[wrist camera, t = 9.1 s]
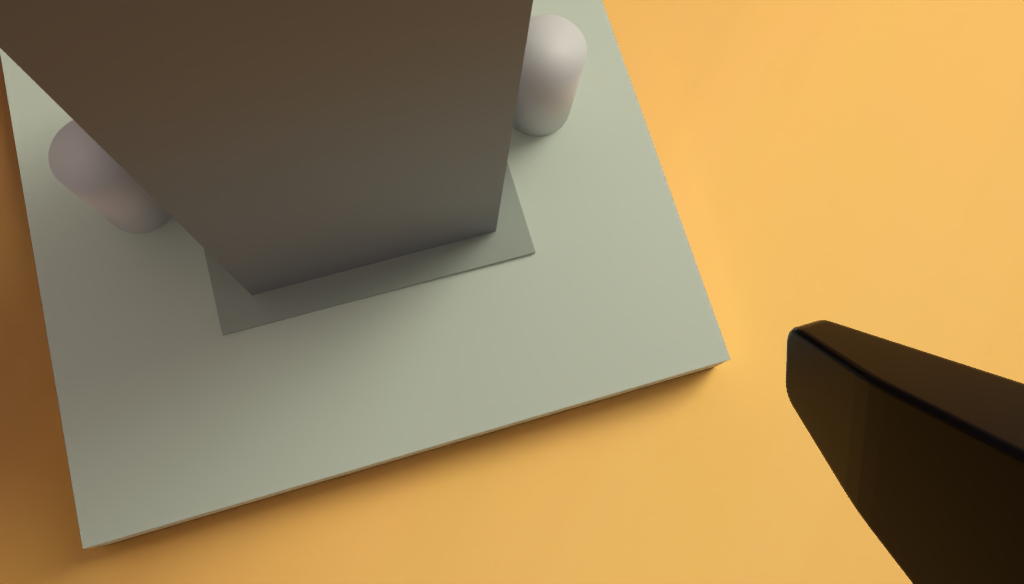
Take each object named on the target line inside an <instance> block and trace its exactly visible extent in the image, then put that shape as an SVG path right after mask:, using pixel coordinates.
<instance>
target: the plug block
mask: <svg viewBox="0 0 1024 584" xmlns="http://www.w3.org/2000/svg"><path fill="white" fill-rule="evenodd" d="M532 4H533V0H0V48H1V49H2V50H3V51H4V52H5V53H6V54H7V55H8V56H9V57H10V58H11V59H12V60H13V61H14V62H15V63H16V64H17V65H18V66H19V67H20V68H21V69H22V70H23V71H24V72H25V73H26V74H27V75H28V76H29V77H30V78H31V79H32V80H33V81H34V82H35V83H36V84H37V85H38V86H39V87H40V88H41V89H43V90H44V91H45V92H46V93H47V94H48V95H49V96H50V97H51V98H52V99H53V100H54V101H55V102H56V103H57V104H58V105H59V106H60V107H61V108H62V109H63V110H64V111H65V112H66V113H67V114H68V115H69V116H70V117H71V118H72V119H73V120H74V121H75V122H76V123H77V124H78V125H79V126H80V127H81V128H82V129H83V130H84V131H85V132H86V133H87V134H88V135H89V136H90V137H91V138H92V139H93V140H94V141H95V142H96V143H97V144H98V145H100V146H101V147H102V148H103V149H104V150H105V151H106V152H107V153H108V154H109V155H110V156H111V157H112V158H113V159H114V160H115V161H116V162H117V163H118V164H119V165H120V166H121V167H122V168H123V169H124V170H125V171H126V172H127V173H128V174H129V175H130V176H131V177H132V178H133V179H134V180H135V181H136V182H137V183H138V184H139V185H140V186H141V187H142V188H143V189H144V190H145V191H146V192H147V193H148V194H149V195H150V196H151V197H152V198H153V199H154V200H155V201H157V202H158V203H159V204H160V205H161V206H162V207H163V208H164V209H165V210H166V211H167V212H168V213H169V214H170V215H171V216H172V217H173V218H174V219H175V220H176V221H177V222H178V223H179V224H180V225H181V226H182V227H183V228H184V229H185V230H186V231H187V232H188V233H189V234H190V235H191V236H192V237H193V238H194V239H195V240H196V241H197V242H198V243H199V244H200V245H201V246H202V247H203V248H204V249H205V250H206V251H207V252H208V253H209V254H210V255H211V256H212V257H214V258H215V259H216V260H217V261H218V262H219V263H220V264H221V265H222V266H223V267H224V268H225V269H226V270H227V271H228V272H229V273H230V274H231V275H232V276H233V277H234V278H235V279H236V280H237V281H238V282H239V283H240V284H241V285H242V286H243V287H244V288H245V289H246V290H247V291H248V292H249V293H250V294H251V295H255V294H259V293H262V292H266V291H270V290H274V289H278V288H282V287H285V286H289V285H293V284H297V283H301V282H304V281H308V280H312V279H316V278H320V277H324V276H327V275H331V274H335V273H339V272H343V271H347V270H350V269H354V268H358V267H362V266H366V265H369V264H373V263H377V262H381V261H385V260H389V259H392V258H396V257H400V256H404V255H408V254H412V253H415V252H419V251H423V250H427V249H431V248H435V247H438V246H442V245H446V244H450V243H454V242H457V241H461V240H465V239H469V238H473V237H477V236H480V235H484V234H488V233H492V232H496V228H497V222H498V215H499V209H500V203H501V197H502V191H503V184H504V178H505V172H506V166H507V159H508V153H509V147H510V141H511V135H512V128H513V122H514V116H515V110H516V104H517V97H518V91H519V85H520V79H521V73H522V66H523V60H524V54H525V48H526V42H527V35H528V29H529V23H530V17H531V11H532Z"/></svg>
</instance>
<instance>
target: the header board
mask: <svg viewBox="0 0 1024 584" xmlns="http://www.w3.org/2000/svg"><path fill="white" fill-rule="evenodd" d="M0 55H1V61H2V67H3V73H4V79H5V85H6V91H7V97H8V103H9V109H10V115H11V121H12V127H13V133H14V139H15V145H16V151H17V157H18V163H19V169H20V175H21V181H22V187H23V193H24V199H25V205H26V211H27V217H28V223H29V229H30V235H31V241H32V247H33V253H34V259H35V265H36V271H37V277H38V283H39V289H40V295H41V301H42V307H43V313H44V319H45V325H46V331H47V337H48V343H49V349H50V355H51V361H52V367H53V373H54V379H55V385H56V391H57V397H58V403H59V409H60V415H61V421H62V427H63V433H64V439H65V445H66V451H67V457H68V463H69V469H70V475H71V481H72V487H73V493H74V499H75V505H76V511H77V517H78V523H79V529H80V535H81V541H82V547H83V549H85V548H92V547H99V546H105V545H108V544H112V543H115V542H118V541H122V540H125V539H129V538H132V537H135V536H139V535H142V534H146V533H149V532H152V531H156V530H159V529H163V528H166V527H169V526H173V525H176V524H180V523H183V522H187V521H190V520H193V519H197V518H200V517H204V516H207V515H210V514H214V513H217V512H221V511H224V510H227V509H231V508H234V507H238V506H241V505H244V504H248V503H251V502H255V501H258V500H261V499H265V498H268V497H272V496H275V495H279V494H282V493H285V492H289V491H292V490H296V489H299V488H302V487H306V486H309V485H313V484H316V483H319V482H323V481H326V480H330V479H333V478H336V477H340V476H343V475H347V474H350V473H354V472H357V471H360V470H364V469H367V468H371V467H374V466H377V465H381V464H384V463H388V462H391V461H394V460H398V459H401V458H405V457H408V456H411V455H415V454H418V453H422V452H425V451H429V450H432V449H435V448H439V447H442V446H446V445H449V444H452V443H456V442H459V441H463V440H466V439H469V438H473V437H476V436H480V435H483V434H486V433H490V432H493V431H497V430H500V429H504V428H507V427H510V426H514V425H517V424H521V423H524V422H527V421H531V420H534V419H538V418H541V417H544V416H548V415H551V414H555V413H558V412H561V411H565V410H568V409H572V408H575V407H578V406H582V405H585V404H589V403H592V402H596V401H599V400H602V399H606V398H609V397H613V396H616V395H619V394H623V393H626V392H630V391H633V390H636V389H640V388H643V387H647V386H650V385H653V384H657V383H660V382H664V381H667V380H671V379H674V378H677V377H681V376H684V375H688V374H691V373H694V372H698V371H701V370H705V369H708V368H711V367H715V366H717V365H719V364H722V363H724V362H726V361H728V360H730V357H729V354H728V351H727V348H726V346H725V343H724V340H723V337H722V334H721V332H720V329H719V326H718V323H717V320H716V318H715V315H714V312H713V309H712V306H711V304H710V301H709V298H708V295H707V292H706V290H705V287H704V284H703V281H702V279H701V276H700V273H699V270H698V267H697V265H696V262H695V259H694V256H693V253H692V251H691V248H690V245H689V242H688V239H687V237H686V234H685V231H684V228H683V225H682V223H681V220H680V217H679V214H678V211H677V209H676V206H675V203H674V200H673V198H672V195H671V192H670V189H669V186H668V184H667V181H666V178H665V175H664V172H663V170H662V167H661V164H660V161H659V158H658V156H657V153H656V150H655V147H654V144H653V142H652V139H651V136H650V133H649V130H648V128H647V125H646V122H645V119H644V117H643V114H642V111H641V108H640V105H639V103H638V100H637V97H636V94H635V91H634V89H633V86H632V83H631V80H630V77H629V75H628V72H627V69H626V66H625V63H624V61H623V58H622V55H621V52H620V49H619V47H618V44H617V41H616V38H615V36H614V33H613V30H612V27H611V24H610V22H609V19H608V16H607V13H606V10H605V8H604V5H603V2H602V0H533V4H532V11H531V17H530V23H529V29H528V35H527V42H526V48H525V54H524V60H523V66H522V73H521V79H520V85H519V91H518V97H517V104H516V110H515V116H514V122H513V128H512V135H511V141H510V147H509V153H508V159H507V166H506V172H505V178H504V184H503V191H502V197H501V203H500V209H499V215H498V222H497V228H496V232H492V233H488V234H484V235H480V236H477V237H473V238H469V239H465V240H461V241H457V242H454V243H450V244H446V245H442V246H438V247H435V248H431V249H427V250H423V251H419V252H415V253H412V254H408V255H404V256H400V257H396V258H392V259H389V260H385V261H381V262H377V263H373V264H369V265H366V266H362V267H358V268H354V269H350V270H347V271H343V272H339V273H335V274H331V275H327V276H324V277H320V278H316V279H312V280H308V281H304V282H301V283H297V284H293V285H289V286H285V287H282V288H278V289H274V290H270V291H266V292H262V293H259V294H255V295H251V294H250V293H249V292H248V291H247V290H246V289H245V288H244V287H243V286H242V285H241V284H240V283H239V282H238V281H237V280H236V279H235V278H234V277H233V276H232V275H231V274H230V273H229V272H228V271H227V270H226V269H225V268H224V267H223V266H222V265H221V264H220V263H219V262H218V261H217V260H216V259H215V258H214V257H212V256H211V255H210V254H209V253H208V252H207V251H206V250H205V249H204V248H203V247H202V246H201V245H200V244H199V243H198V242H197V241H196V240H195V239H194V238H193V237H192V236H191V235H190V234H189V233H188V232H187V231H186V230H185V229H184V228H183V227H182V226H181V225H180V224H179V223H178V222H177V221H176V220H175V219H174V218H173V217H172V216H171V215H170V214H169V213H168V212H167V211H166V210H165V209H164V208H163V207H162V206H161V205H160V204H159V203H158V202H157V201H155V200H154V199H153V198H152V197H151V196H150V195H149V194H148V193H147V192H146V191H145V190H144V189H143V188H142V187H141V186H140V185H139V184H138V183H137V182H136V181H135V180H134V179H133V178H132V177H131V176H130V175H129V174H128V173H127V172H126V171H125V170H124V169H123V168H122V167H121V166H120V165H119V164H118V163H117V162H116V161H115V160H114V159H113V158H112V157H111V156H110V155H109V154H108V153H107V152H106V151H105V150H104V149H103V148H102V147H101V146H100V145H98V144H97V143H96V142H95V141H94V140H93V139H92V138H91V137H90V136H89V135H88V134H87V133H86V132H85V131H84V130H83V129H82V128H81V127H80V126H79V125H78V124H77V123H76V122H75V121H74V120H73V119H72V118H71V117H70V116H69V115H68V114H67V113H66V112H65V111H64V110H63V109H62V108H61V107H60V106H59V105H58V104H57V103H56V102H55V101H54V100H53V99H52V98H51V97H50V96H49V95H48V94H47V93H46V92H45V91H44V90H43V89H41V88H40V87H39V86H38V85H37V84H36V83H35V82H34V81H33V80H32V79H31V78H30V77H29V76H28V75H27V74H26V73H25V72H24V71H23V70H22V69H21V68H20V67H19V66H18V65H17V64H16V63H15V62H14V61H13V60H12V59H11V58H10V57H9V56H8V55H7V54H6V53H5V52H4V51H3V50H2V49H1V48H0Z"/></svg>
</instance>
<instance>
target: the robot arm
mask: <svg viewBox="0 0 1024 584" xmlns="http://www.w3.org/2000/svg"><path fill="white" fill-rule="evenodd" d="M786 388H787V393H788V396H789V399H790V401H791V403H792V405H793V407H794V409H795V410H796V412H797V414H798V415H799V417H800V418H801V420H802V422H803V423H804V425H805V427H806V428H807V430H808V432H809V433H810V435H811V437H812V438H813V440H814V441H815V443H816V445H817V446H818V448H819V450H820V451H821V453H822V455H823V456H824V458H825V460H826V461H827V463H828V464H829V466H830V468H831V469H832V471H833V473H834V474H835V476H836V478H837V479H838V481H839V483H840V484H841V486H842V487H843V489H844V491H845V492H846V494H847V495H848V497H849V498H850V500H851V502H852V503H853V505H854V506H855V508H856V509H857V511H858V512H859V513H860V515H861V516H862V517H863V519H864V520H865V522H866V523H867V524H868V526H869V527H870V528H871V530H872V531H873V532H874V533H875V535H876V536H877V537H878V539H879V540H880V541H881V543H882V544H883V545H884V546H885V548H886V549H887V550H888V552H889V553H890V554H891V556H892V557H893V558H894V559H895V561H896V562H897V563H898V565H899V566H900V567H901V569H902V570H903V571H904V572H905V574H906V575H907V576H908V578H909V579H910V580H911V582H912V583H913V584H1024V384H1023V383H1020V382H1016V381H1013V380H1010V379H1007V378H1004V377H1001V376H998V375H995V374H992V373H989V372H985V371H982V370H979V369H976V368H973V367H970V366H967V365H964V364H961V363H957V362H954V361H951V360H948V359H945V358H942V357H939V356H936V355H933V354H930V353H926V352H923V351H920V350H917V349H914V348H911V347H908V346H905V345H902V344H899V343H895V342H892V341H889V340H886V339H883V338H880V337H877V336H874V335H871V334H867V333H864V332H861V331H858V330H855V329H852V328H849V327H846V326H843V325H840V324H836V323H833V322H830V321H826V320H820V321H816V322H812V323H809V324H805V325H802V326H798V327H795V328H794V329H792V330H791V331H790V333H789V335H788V339H787V363H786Z"/></svg>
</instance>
